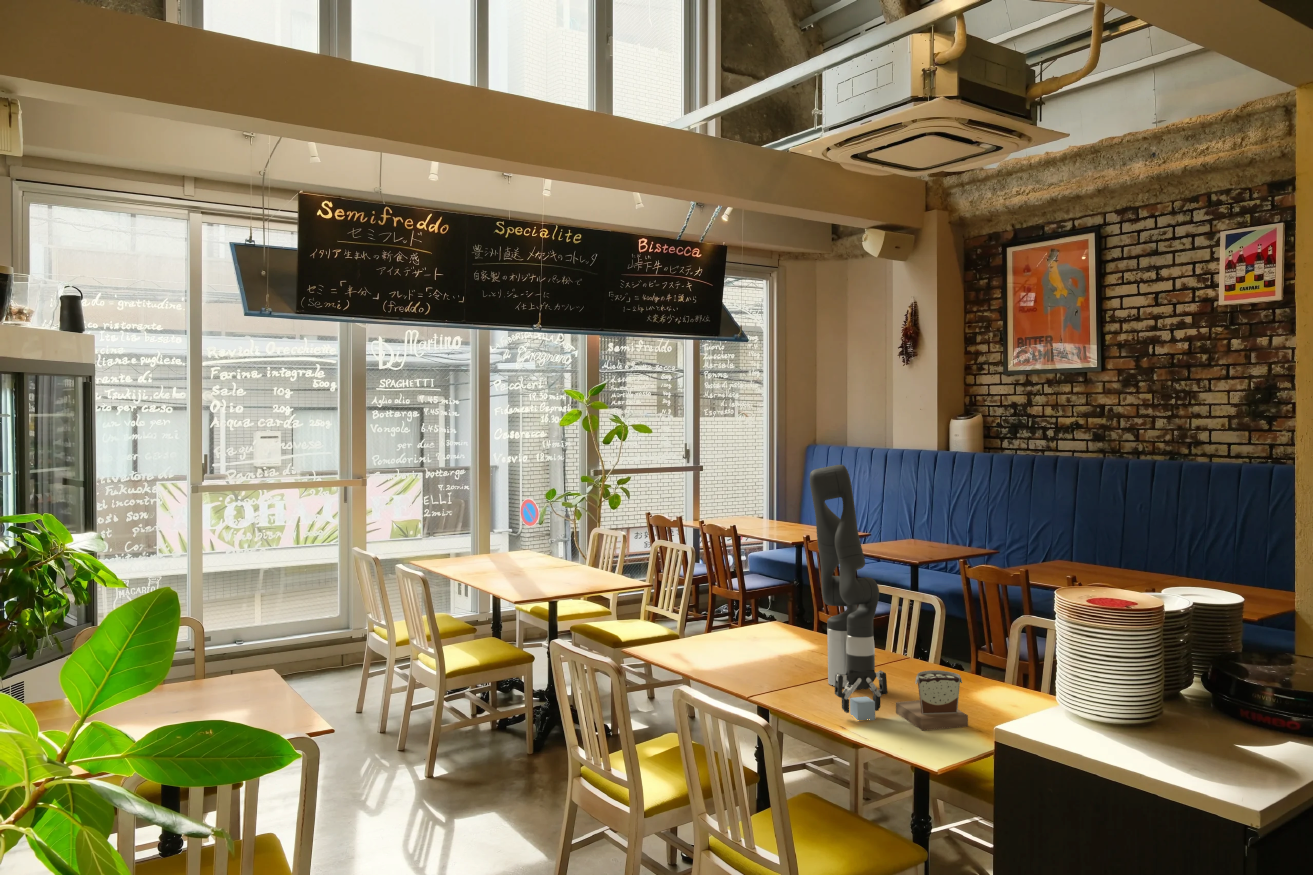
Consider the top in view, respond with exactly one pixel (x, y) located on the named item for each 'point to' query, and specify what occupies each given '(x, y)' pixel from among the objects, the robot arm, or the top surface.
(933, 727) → the walnut slab
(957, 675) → the food container
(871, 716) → the slate cube
